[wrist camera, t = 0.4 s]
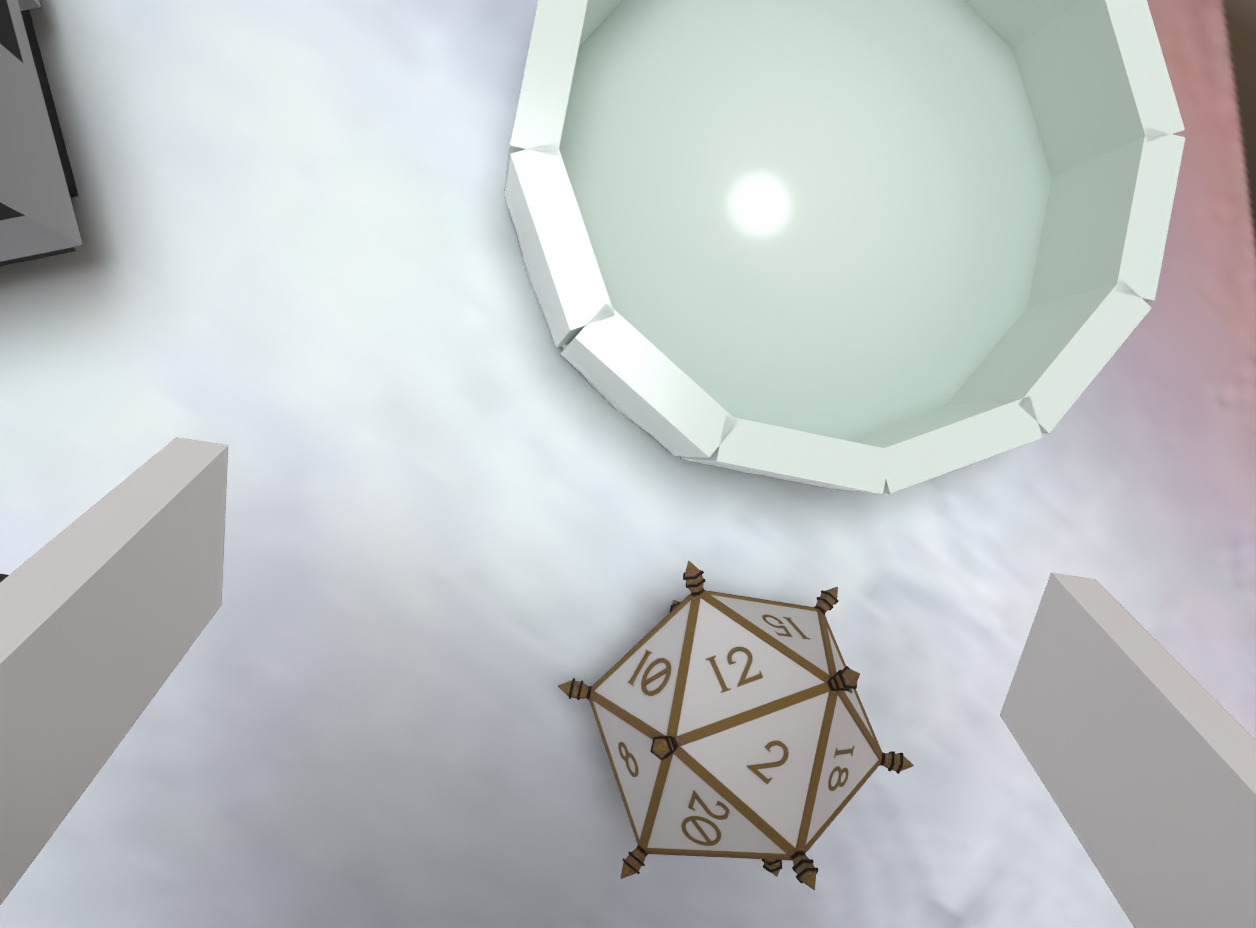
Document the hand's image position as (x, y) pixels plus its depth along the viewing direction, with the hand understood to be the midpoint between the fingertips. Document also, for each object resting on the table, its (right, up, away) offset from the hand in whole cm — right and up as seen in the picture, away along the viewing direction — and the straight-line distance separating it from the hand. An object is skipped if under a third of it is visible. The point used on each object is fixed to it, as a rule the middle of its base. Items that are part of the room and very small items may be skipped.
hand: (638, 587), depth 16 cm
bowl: (+5, +11, +16) cm, 20 cm away
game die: (+2, -5, +16) cm, 17 cm away
